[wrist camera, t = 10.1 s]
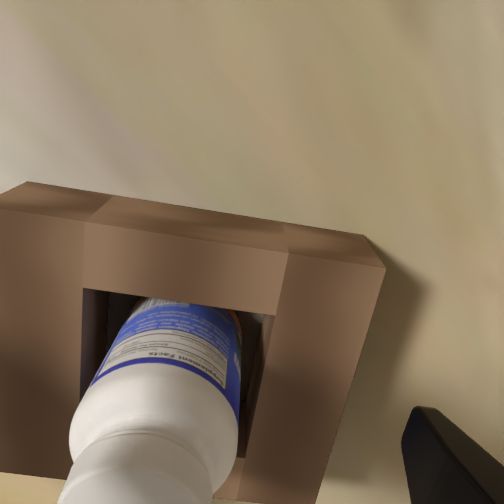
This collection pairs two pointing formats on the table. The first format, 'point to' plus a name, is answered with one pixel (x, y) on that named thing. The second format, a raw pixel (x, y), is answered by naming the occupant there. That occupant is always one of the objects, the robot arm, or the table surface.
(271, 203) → the table surface
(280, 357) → the walnut box
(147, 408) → the pill bottle
